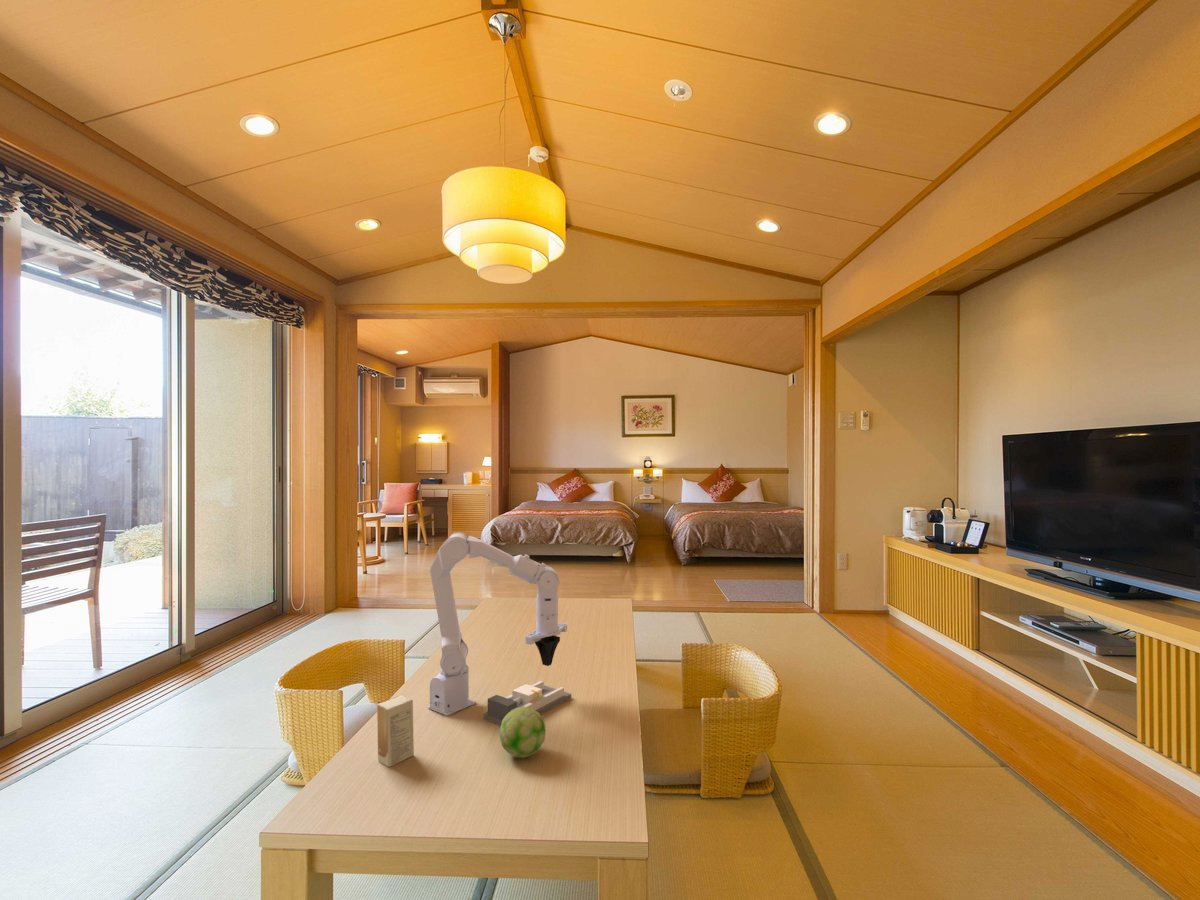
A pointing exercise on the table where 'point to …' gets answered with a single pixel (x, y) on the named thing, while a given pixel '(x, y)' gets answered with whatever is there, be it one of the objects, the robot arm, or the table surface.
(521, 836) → the table surface
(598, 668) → the table surface
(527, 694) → the gauge carriage
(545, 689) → the gauge base
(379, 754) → the skincare box
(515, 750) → the decorative ball
